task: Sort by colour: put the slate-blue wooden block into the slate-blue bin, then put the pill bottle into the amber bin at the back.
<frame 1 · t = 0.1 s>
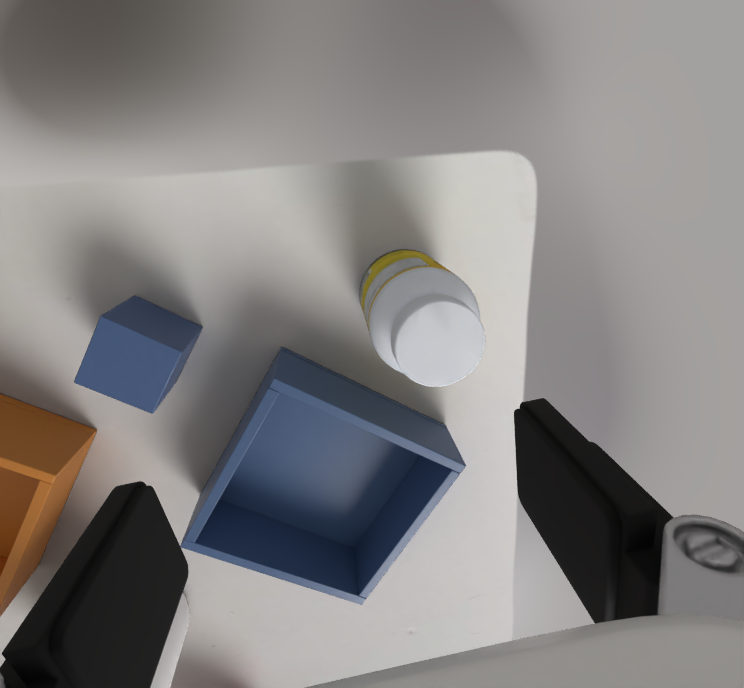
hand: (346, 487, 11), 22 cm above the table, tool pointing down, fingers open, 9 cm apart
blue block: (156, 339, 31), on the table
pill bottle: (400, 290, 32), on the table
can: (124, 606, 40), on the table
blue bin: (323, 460, 36), on the table
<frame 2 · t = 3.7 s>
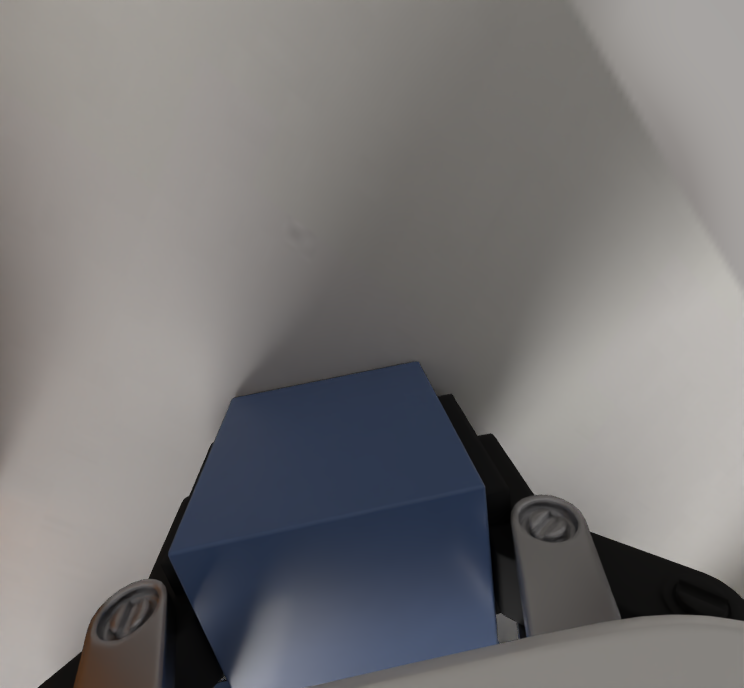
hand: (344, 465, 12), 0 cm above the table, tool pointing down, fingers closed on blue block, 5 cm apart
blue block: (343, 455, 12), on the table, touching gripper
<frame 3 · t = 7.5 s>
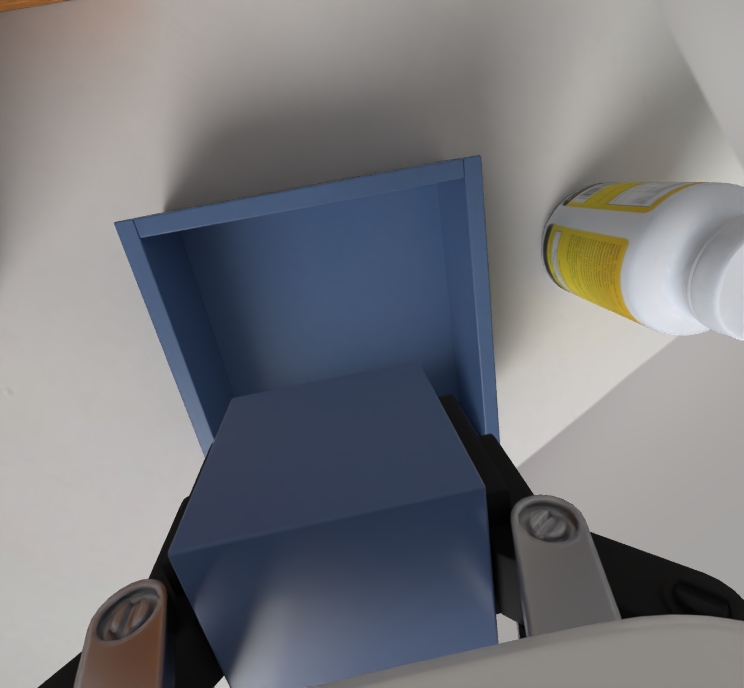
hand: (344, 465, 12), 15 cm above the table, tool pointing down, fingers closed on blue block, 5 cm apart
blue block: (343, 455, 12), point 15 cm above the table, touching gripper
pill bottle: (586, 238, 26), on the table
blue bin: (334, 320, 26), on the table
when the fingers open (1 cm above the table, at t = 11.1 s): blue block stays where it is, resting on blue bin.
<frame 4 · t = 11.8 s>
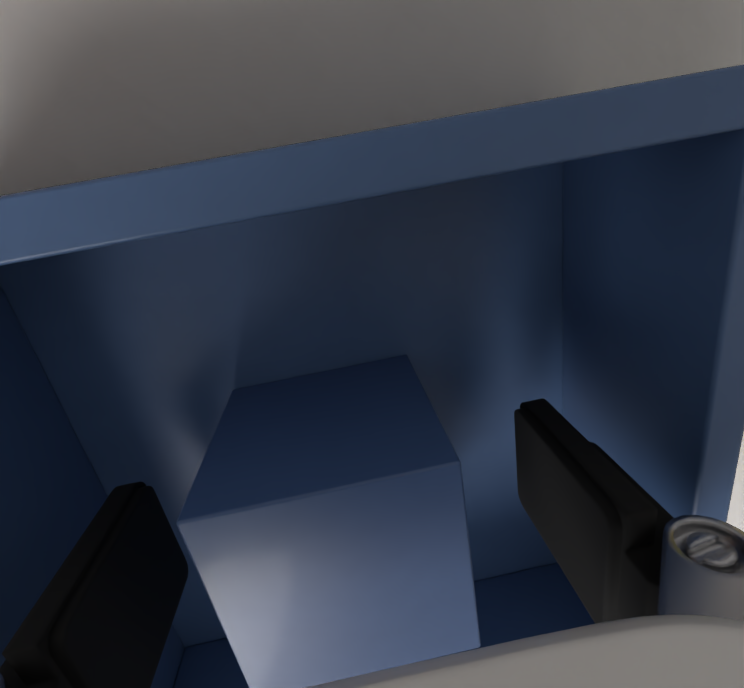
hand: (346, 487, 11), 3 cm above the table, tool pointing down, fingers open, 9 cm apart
blue block: (337, 444, 13), point 1 cm above the table, touching blue bin
blue bin: (338, 432, 13), on the table
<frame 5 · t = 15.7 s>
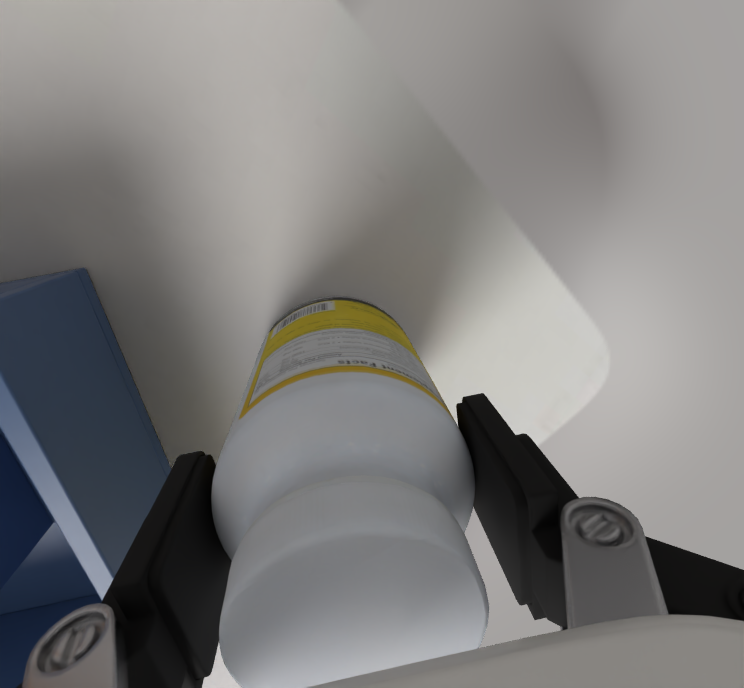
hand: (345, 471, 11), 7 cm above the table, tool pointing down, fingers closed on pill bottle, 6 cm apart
pill bottle: (336, 363, 18), on the table, touching gripper
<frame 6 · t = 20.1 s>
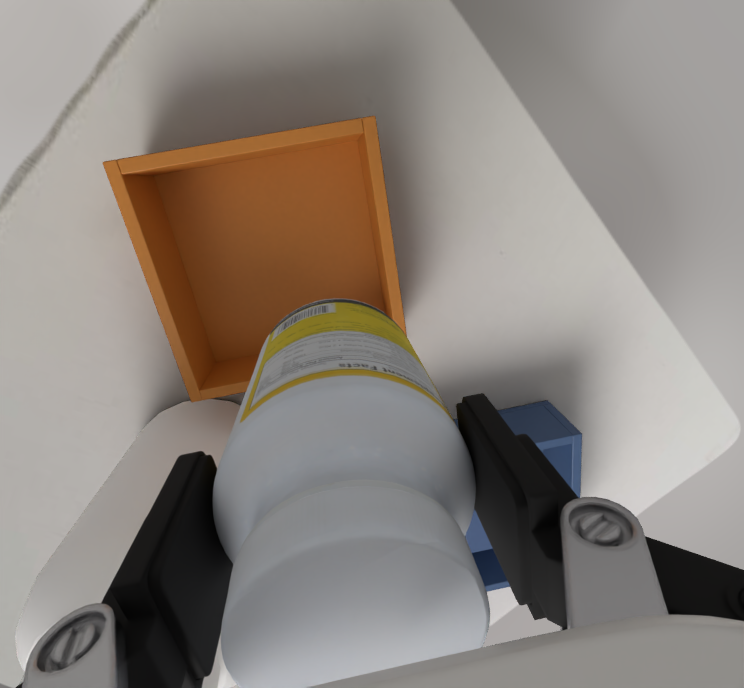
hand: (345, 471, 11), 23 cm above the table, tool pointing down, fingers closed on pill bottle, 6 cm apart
blue block: (474, 488, 41), point 1 cm above the table, touching blue bin
pill bottle: (337, 364, 18), point 16 cm above the table, touching gripper
can: (214, 455, 38), on the table
amber bin: (282, 257, 32), on the table
blue bin: (472, 483, 42), on the table
when the fingers open (8 cm above the table, at t = 24.4 s): pill bottle stays where it is, resting on amber bin.
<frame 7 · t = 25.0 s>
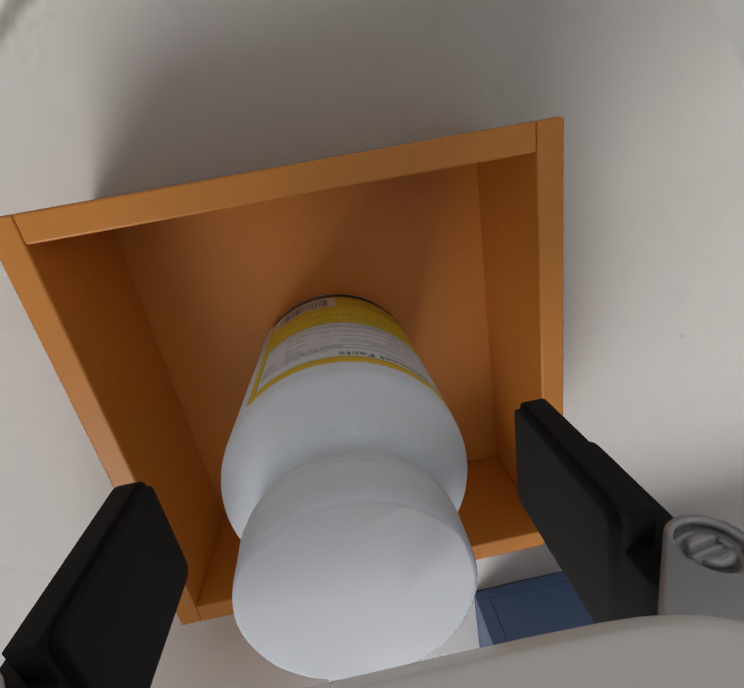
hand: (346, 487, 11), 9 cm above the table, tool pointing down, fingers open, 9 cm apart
pill bottle: (336, 358, 19), resting on amber bin
can: (220, 631, 25), on the table
amber bin: (333, 353, 19), on the table
blue bin: (591, 645, 29), on the table
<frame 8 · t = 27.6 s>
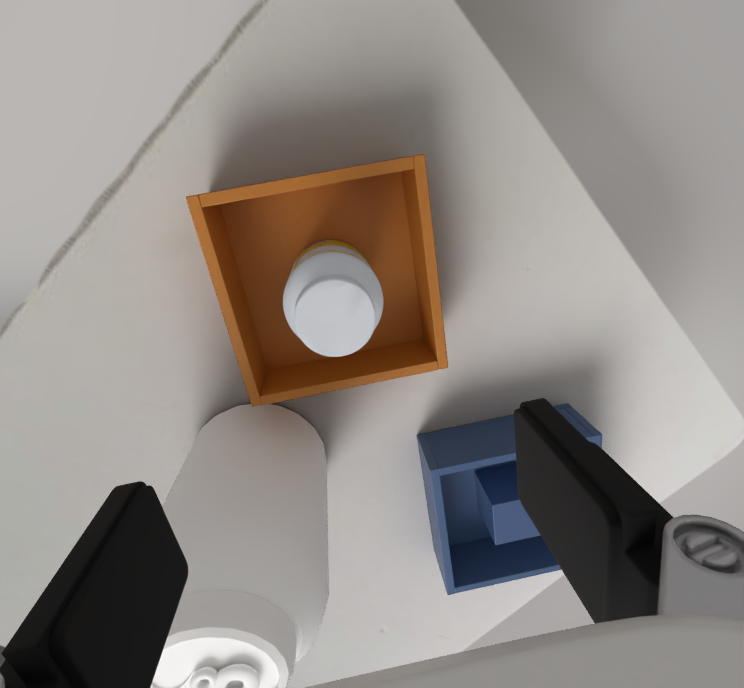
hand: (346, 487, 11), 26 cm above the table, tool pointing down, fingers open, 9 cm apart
blue block: (498, 485, 44), point 1 cm above the table, touching blue bin
pill bottle: (331, 276, 35), resting on amber bin
can: (261, 455, 41), on the table
amber bin: (329, 275, 35), on the table
blue bin: (497, 480, 45), on the table
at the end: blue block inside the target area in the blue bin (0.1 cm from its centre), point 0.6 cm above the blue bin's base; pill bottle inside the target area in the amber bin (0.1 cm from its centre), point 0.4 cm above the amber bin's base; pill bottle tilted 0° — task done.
